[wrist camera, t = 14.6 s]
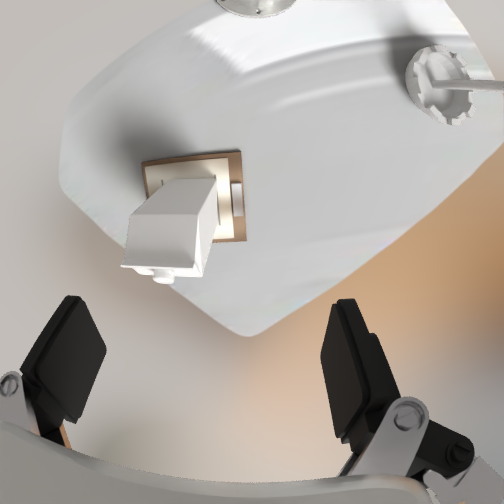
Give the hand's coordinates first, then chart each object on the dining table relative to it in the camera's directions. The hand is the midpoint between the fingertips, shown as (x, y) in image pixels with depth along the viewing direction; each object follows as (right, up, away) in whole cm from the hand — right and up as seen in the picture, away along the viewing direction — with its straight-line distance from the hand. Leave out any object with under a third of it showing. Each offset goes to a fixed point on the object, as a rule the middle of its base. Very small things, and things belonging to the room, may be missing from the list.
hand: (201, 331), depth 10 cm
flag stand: (+31, +30, +22) cm, 48 cm away
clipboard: (-7, +11, +32) cm, 34 cm away
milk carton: (-7, +11, +31) cm, 34 cm away
